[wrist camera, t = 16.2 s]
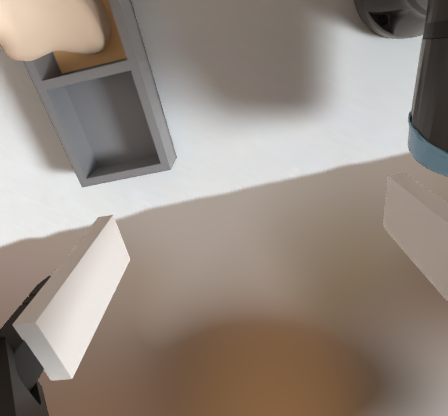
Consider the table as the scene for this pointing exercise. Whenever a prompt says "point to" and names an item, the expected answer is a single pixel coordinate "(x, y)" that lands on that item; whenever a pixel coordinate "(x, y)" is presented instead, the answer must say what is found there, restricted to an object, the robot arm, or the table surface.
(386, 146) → the table surface
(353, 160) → the table surface
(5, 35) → the water bottle
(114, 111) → the bottle caddy
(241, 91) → the table surface
